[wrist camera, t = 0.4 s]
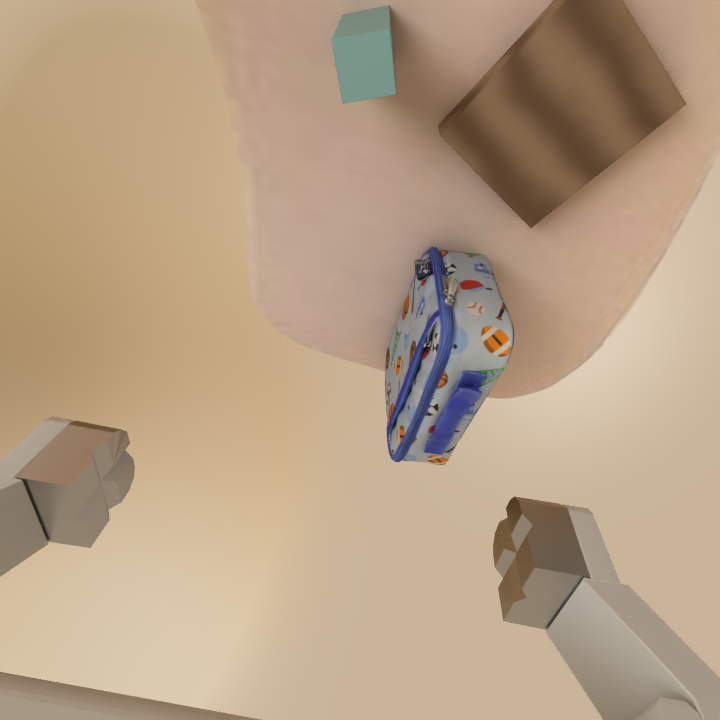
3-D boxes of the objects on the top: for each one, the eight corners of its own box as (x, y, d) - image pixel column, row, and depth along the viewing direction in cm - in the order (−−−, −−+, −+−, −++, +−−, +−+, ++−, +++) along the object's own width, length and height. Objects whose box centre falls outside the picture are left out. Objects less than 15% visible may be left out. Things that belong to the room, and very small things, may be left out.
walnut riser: (589, -38, 41) (600, -35, 38) (673, 95, 48) (686, 104, 45) (438, 125, 51) (440, 135, 48) (525, 216, 57) (530, 228, 55)
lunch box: (420, 218, 58) (432, 331, 43) (499, 232, 59) (539, 348, 43) (378, 366, 77) (376, 483, 62) (438, 375, 78) (451, 492, 63)
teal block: (342, 15, 44) (331, 39, 35) (389, 5, 43) (389, 28, 35) (350, 68, 47) (342, 103, 39) (394, 60, 46) (396, 94, 38)
